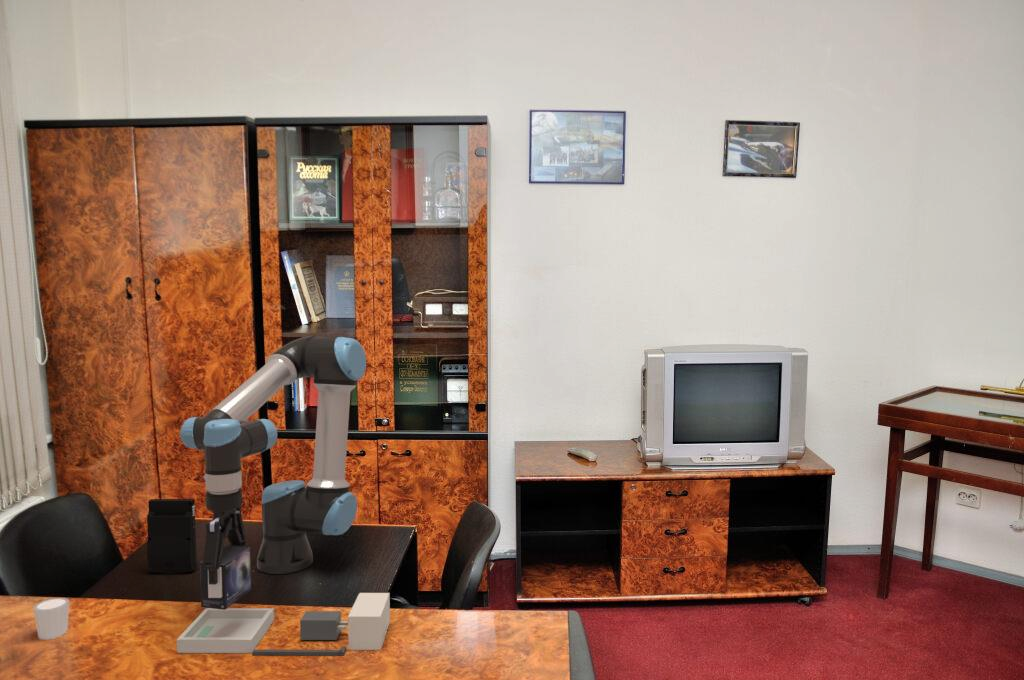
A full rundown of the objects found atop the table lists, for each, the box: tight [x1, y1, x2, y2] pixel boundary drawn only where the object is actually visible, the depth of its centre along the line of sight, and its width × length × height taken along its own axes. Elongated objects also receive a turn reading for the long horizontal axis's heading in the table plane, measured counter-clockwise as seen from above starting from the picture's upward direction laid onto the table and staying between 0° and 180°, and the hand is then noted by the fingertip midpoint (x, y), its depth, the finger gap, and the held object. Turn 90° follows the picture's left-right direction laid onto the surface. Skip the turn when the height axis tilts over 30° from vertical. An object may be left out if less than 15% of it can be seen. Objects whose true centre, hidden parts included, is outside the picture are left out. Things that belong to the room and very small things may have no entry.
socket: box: [347, 592, 391, 651], centre depth 164 cm, size 12×7×8 cm, turn 0°
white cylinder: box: [33, 597, 70, 641], centre depth 165 cm, size 7×7×7 cm
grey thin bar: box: [251, 645, 347, 657], centre depth 157 cm, size 2×20×1 cm, turn 90°
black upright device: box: [146, 498, 198, 575], centre depth 199 cm, size 12×5×20 cm, turn 92°
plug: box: [299, 610, 348, 641], centre depth 164 cm, size 4×10×4 cm, turn 90°
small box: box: [199, 544, 252, 610], centre depth 163 cm, size 11×6×10 cm, turn 169°
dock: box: [176, 607, 275, 654], centre depth 164 cm, size 15×16×3 cm
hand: (226, 585), depth 163 cm, fingers closed on small box, 11 cm apart
